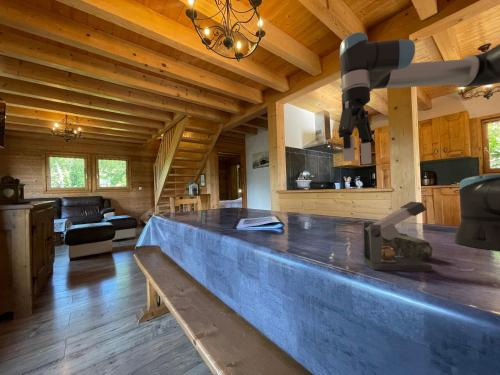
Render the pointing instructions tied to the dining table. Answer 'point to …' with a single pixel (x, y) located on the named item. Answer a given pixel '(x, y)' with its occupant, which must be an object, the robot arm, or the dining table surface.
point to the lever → (398, 219)
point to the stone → (408, 246)
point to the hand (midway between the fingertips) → (358, 162)
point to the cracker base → (377, 254)
